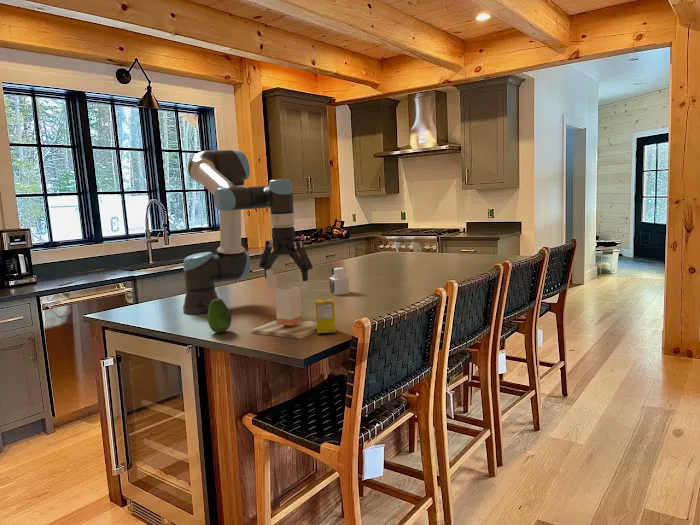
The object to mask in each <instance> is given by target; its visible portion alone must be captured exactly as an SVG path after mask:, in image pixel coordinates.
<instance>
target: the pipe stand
mask: <svg viewBox="0 0 700 525" xmlns="http://www.w3.org/2000/svg"><path fill="white" fill-rule="evenodd" d="M314 333H317V321H312V320H311V321H309V320H302V321H301V322H299V323H297V324H294V325H292V326H291V325H281V324H277V319H276V320H273V321H270V322H267V323H265V324H263V325H259V326H258V327H255V328H253V329H251V334H256V335H265V336H274V337H282V338H293V339H299V340H300V339H303V338H306V337H307V336H310V335H311V334H314Z"/></svg>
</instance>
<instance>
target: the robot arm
mask: <svg viewBox="0 0 700 525" xmlns="http://www.w3.org/2000/svg"><path fill="white" fill-rule="evenodd" d="M187 171H188V175H189V177H190V178H191V179H192V180H193V181H194V182H195V183H197V184H201V185H203V187H204V188H205V189H206V190H208V191H209V192H210V193H211V195H213V203H214V205H215V207H216V209H217V210H218V211H219V239H220V240H219V241H220V243H219V244H220V245H219V247H217V249H216V254H213V252H211V251H205V252H199V253H193V254H191V255H188V256H186V257H185V258H184V259H183V269H182V270H183V276H184V283H185V298H184V304H183V307H182V310H183V311H182V312H183V313H184V314H187V315H200V314H202V315H203V314H208V310H209V305H210V303H211V301H212V300H213V299H216V298H219V296H218V294H217V290H216V284H218V283H225V282H231V281H239V280H244V279H246V278H247V277H248V276H249V273H250V271H251V263H252V262H251V259H250V258H251V257H250V254H249V252H247V251H246V248H245V247H244V246H243V245H242V210H244V211H245V210H256V209H270V218H271V219H270V221H271V222H270V223H271V226H272V227H271V238H272V239H270V240H266V241H265V242H264V244H265V245H264V246H265V247H264V250H263V253H262V254H261V255H262V256H261V259H260V262H259V264H258V267H259V268H262V269H263V270H264V278H265V280H266V288H267V290H269V289H273V288H275V284H274V270H273V268H272V266H273V264H274V263H275V261H276V260H277V258H279V255H285V256H287V255H288V256H289V257H290V258H291V259H292V260H293V262H294V263H295V264H296V265H297V267H298V268H299V270H300V271H299V272H298V274H299V287H300V292H305V291H307V290H308V288H307V286H308V285H307V282H308V280H309V271H310V270H312V269H313V267H314V266H313V264H312V261H311V260H310V258H309V255H308V253H307V251H306V249H305V247H304V241H303V240H299V241H295V237H296V228H295V226H294V225H295V215H294V214H295V213H294V189H293V183H292V180H290V179H271V180H269V181H268V182H269V183H268V185H262V186H259V185H258V186H245V181H247V180H248V179H249V177H250V176H251V175H250V174H251V169H250V163H249V160H248V158H247V155H246V154H245V153H244V152H243V151H242V150H234V149H233V150H232V149H229V150H228V149H225V150H218V149H217V150H208V149H207V150H203V151H198V152H197V153H195V154H194V155H193V156H192V157H191V158H190V160H189V162H188V164H187Z"/></svg>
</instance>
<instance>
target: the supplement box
mask: <svg viewBox="0 0 700 525" xmlns="http://www.w3.org/2000/svg"><path fill="white" fill-rule="evenodd" d="M335 315H336V313H335V300H334V297H330V298H316V299H315V316H316V319H315V320H316V322H317V331H316V333H317V336H324V335H336V330H337V329H336V316H335Z"/></svg>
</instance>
